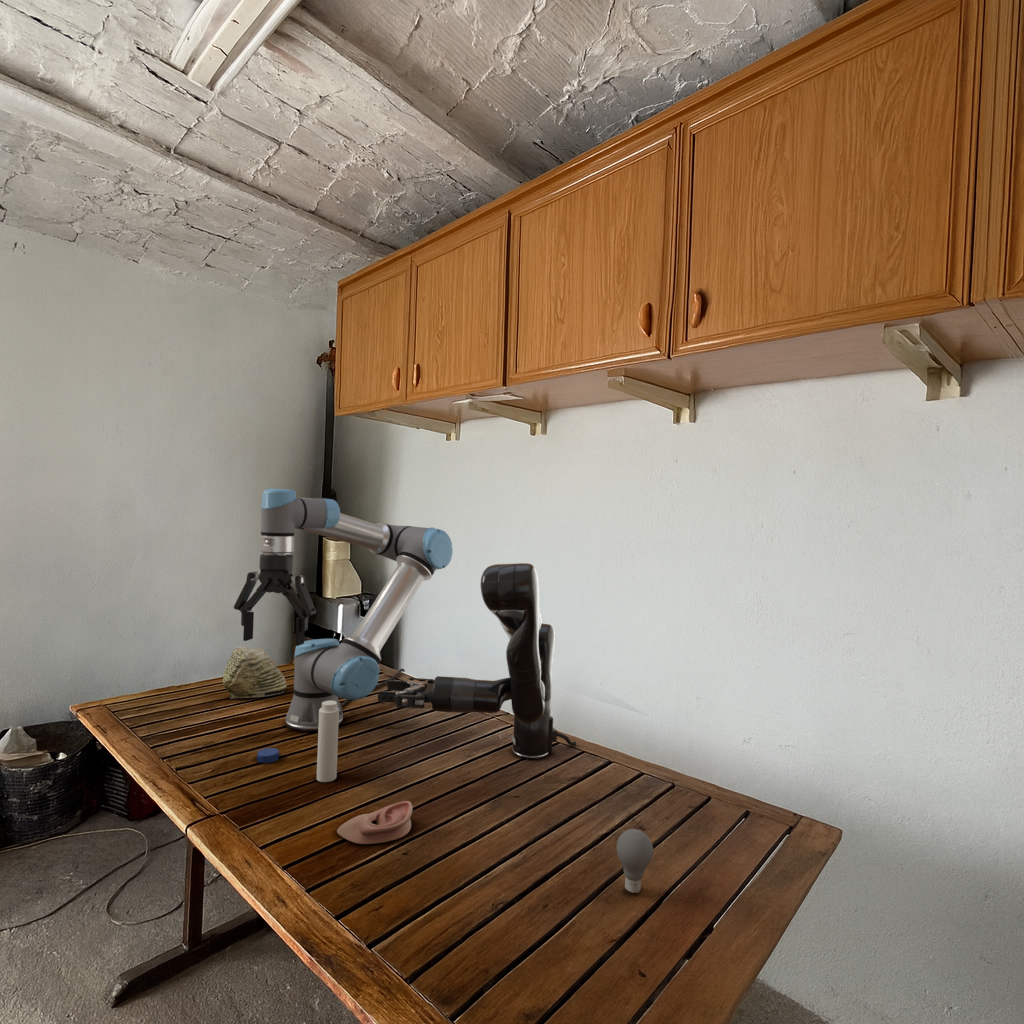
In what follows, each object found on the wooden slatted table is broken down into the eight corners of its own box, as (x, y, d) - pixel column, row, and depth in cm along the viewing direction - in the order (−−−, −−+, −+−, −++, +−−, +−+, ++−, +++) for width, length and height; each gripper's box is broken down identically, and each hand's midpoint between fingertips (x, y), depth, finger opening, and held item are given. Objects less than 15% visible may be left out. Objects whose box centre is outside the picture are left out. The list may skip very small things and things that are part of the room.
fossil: (218, 695, 195) (220, 647, 195) (278, 685, 208) (279, 640, 207) (228, 703, 189) (230, 653, 188) (289, 692, 201) (290, 645, 201)
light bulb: (610, 879, 108) (613, 822, 108) (644, 879, 109) (647, 822, 109) (619, 902, 102) (622, 840, 102) (655, 901, 103) (658, 840, 103)
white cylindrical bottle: (340, 776, 144) (343, 701, 144) (328, 783, 140) (331, 707, 140) (324, 772, 146) (327, 698, 145) (312, 779, 141) (315, 703, 141)
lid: (252, 760, 150) (252, 752, 150) (269, 753, 155) (269, 746, 155) (266, 765, 148) (266, 757, 148) (283, 758, 152) (283, 750, 152)
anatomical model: (329, 818, 117) (357, 790, 128) (328, 839, 117) (356, 810, 128) (397, 828, 114) (419, 799, 126) (396, 850, 114) (418, 819, 126)
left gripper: (220, 551, 150) (217, 640, 150) (317, 557, 145) (313, 650, 145) (239, 549, 157) (236, 634, 157) (332, 555, 152) (329, 643, 152)
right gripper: (459, 669, 148) (391, 665, 149) (451, 687, 134) (375, 682, 135) (458, 701, 148) (389, 697, 149) (450, 722, 134) (374, 717, 135)
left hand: (273, 642), depth 151 cm, fingers open, 13 cm apart
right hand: (383, 690), depth 142 cm, fingers open, 8 cm apart
